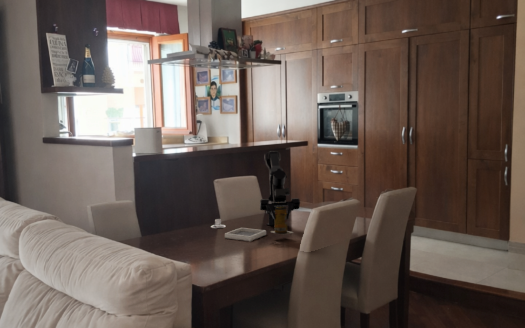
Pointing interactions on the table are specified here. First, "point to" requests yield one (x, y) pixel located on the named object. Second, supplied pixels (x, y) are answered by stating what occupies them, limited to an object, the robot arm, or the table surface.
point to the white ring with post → (218, 224)
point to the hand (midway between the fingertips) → (281, 219)
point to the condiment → (280, 221)
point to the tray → (245, 234)
